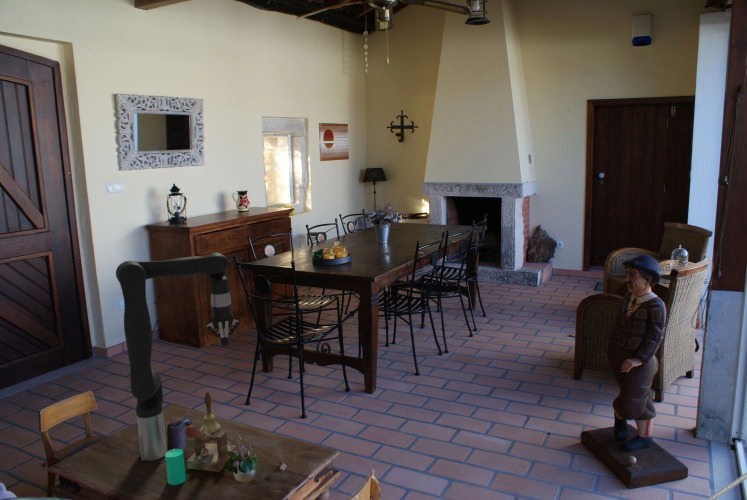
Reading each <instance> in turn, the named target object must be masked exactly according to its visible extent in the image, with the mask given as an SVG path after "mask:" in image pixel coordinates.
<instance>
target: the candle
mask: <svg viewBox="0 0 747 500" xmlns="http://www.w3.org/2000/svg"><path fill="white" fill-rule="evenodd" d="M184 457H185V456H184V450H183V449H180V448H173V449H169V450H167V453H166V454H165V456H164V458H165V460H164V461H165V467H166V468H165V469H166V475H167V483H168V485H170V484H171V486H178V485H180V484H183V483H185V481H186V480H187V476H186V465H185V458H184Z"/></svg>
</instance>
